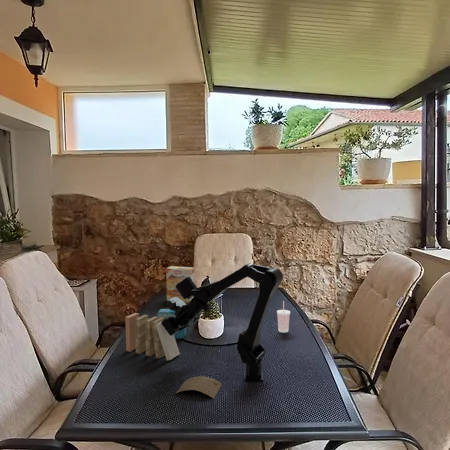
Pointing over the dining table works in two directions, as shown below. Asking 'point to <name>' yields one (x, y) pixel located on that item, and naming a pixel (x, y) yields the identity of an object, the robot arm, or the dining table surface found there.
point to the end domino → (130, 332)
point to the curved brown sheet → (202, 385)
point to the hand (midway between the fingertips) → (169, 332)
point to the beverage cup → (283, 320)
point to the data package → (167, 312)
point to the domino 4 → (167, 342)
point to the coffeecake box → (177, 280)
